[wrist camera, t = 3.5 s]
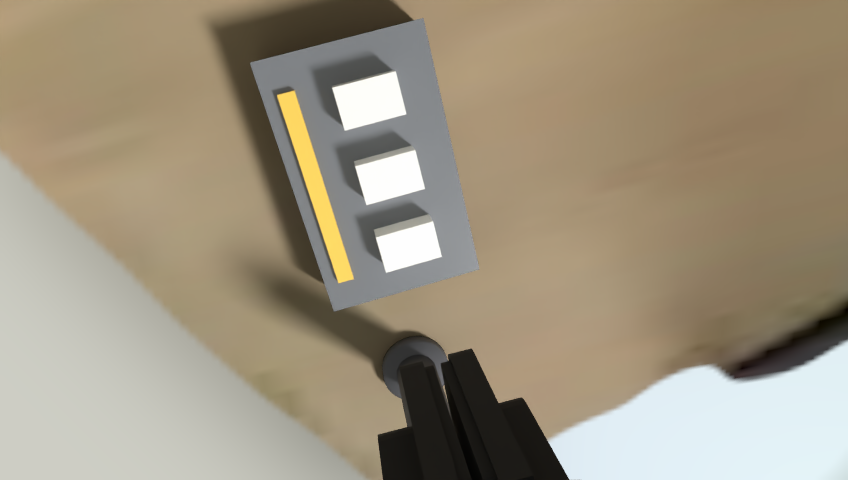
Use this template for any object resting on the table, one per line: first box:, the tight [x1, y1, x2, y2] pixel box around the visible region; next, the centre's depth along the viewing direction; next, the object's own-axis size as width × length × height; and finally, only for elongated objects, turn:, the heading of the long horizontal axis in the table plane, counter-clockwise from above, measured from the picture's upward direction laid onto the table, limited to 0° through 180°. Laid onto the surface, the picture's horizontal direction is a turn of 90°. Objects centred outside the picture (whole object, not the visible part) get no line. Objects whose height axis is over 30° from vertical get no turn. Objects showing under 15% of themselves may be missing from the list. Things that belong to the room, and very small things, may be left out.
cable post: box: [382, 336, 451, 427], centre depth 36 cm, size 5×5×14 cm
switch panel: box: [250, 18, 479, 311], centre depth 35 cm, size 16×10×6 cm, turn 14°
